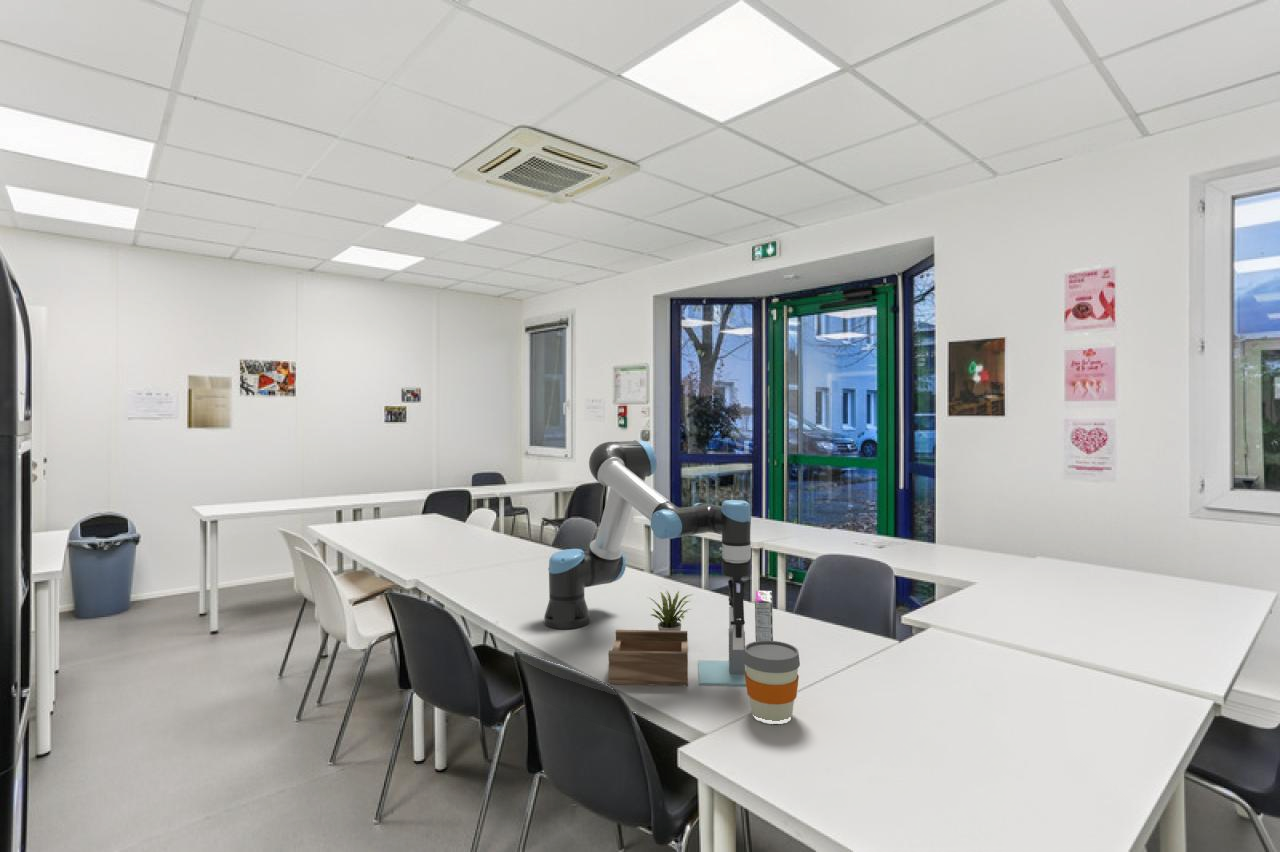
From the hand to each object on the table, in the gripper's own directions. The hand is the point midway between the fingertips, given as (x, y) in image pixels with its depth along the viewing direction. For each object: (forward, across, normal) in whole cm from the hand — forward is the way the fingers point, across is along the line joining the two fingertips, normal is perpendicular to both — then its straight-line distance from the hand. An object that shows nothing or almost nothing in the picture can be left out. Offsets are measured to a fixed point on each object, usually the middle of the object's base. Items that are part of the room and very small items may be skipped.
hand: (736, 639), depth 167 cm
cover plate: (+9, 0, 0) cm, 9 cm away
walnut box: (+9, 0, -23) cm, 25 cm away
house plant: (+9, -20, -17) cm, 28 cm away
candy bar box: (+9, -16, +9) cm, 21 cm away
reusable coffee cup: (+9, +23, +6) cm, 26 cm away
